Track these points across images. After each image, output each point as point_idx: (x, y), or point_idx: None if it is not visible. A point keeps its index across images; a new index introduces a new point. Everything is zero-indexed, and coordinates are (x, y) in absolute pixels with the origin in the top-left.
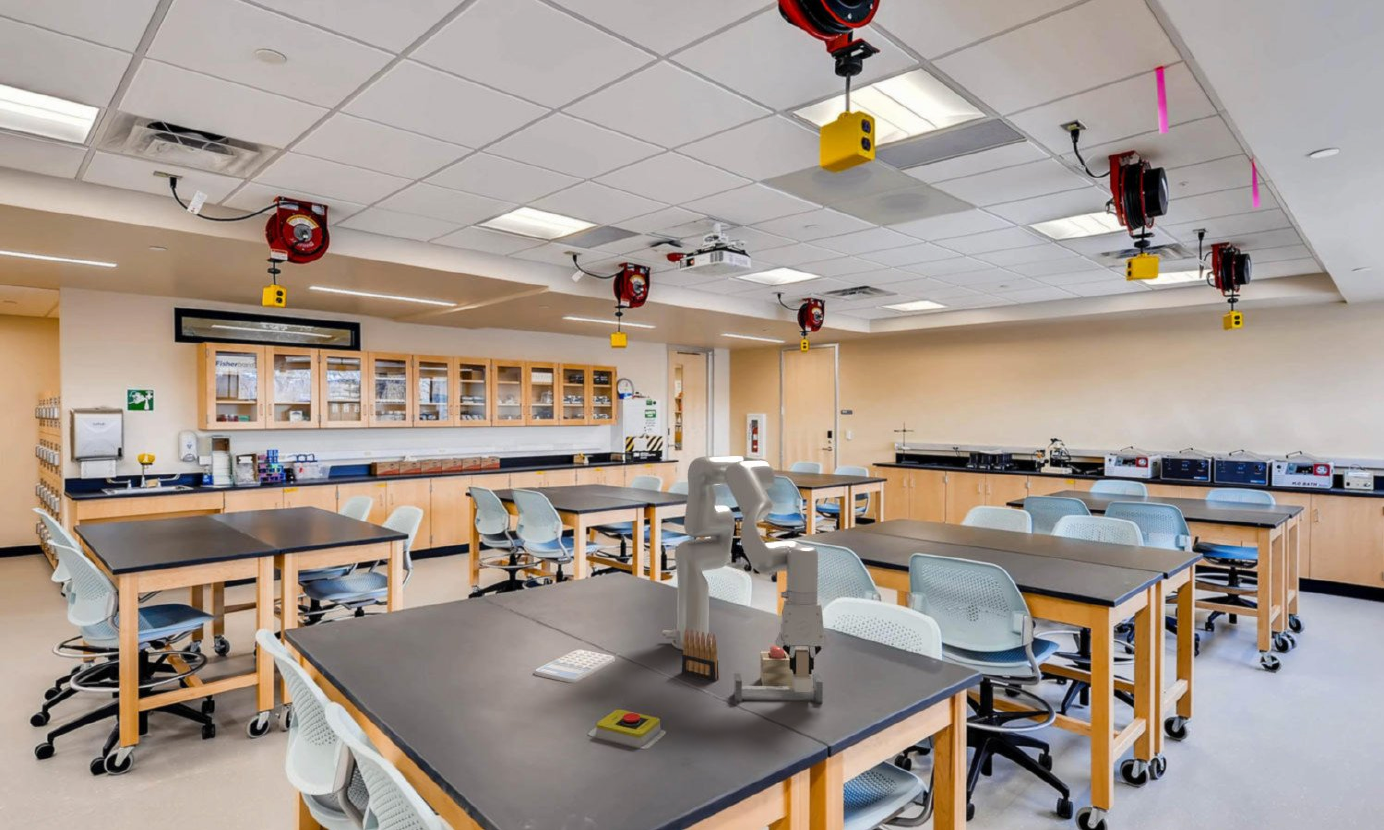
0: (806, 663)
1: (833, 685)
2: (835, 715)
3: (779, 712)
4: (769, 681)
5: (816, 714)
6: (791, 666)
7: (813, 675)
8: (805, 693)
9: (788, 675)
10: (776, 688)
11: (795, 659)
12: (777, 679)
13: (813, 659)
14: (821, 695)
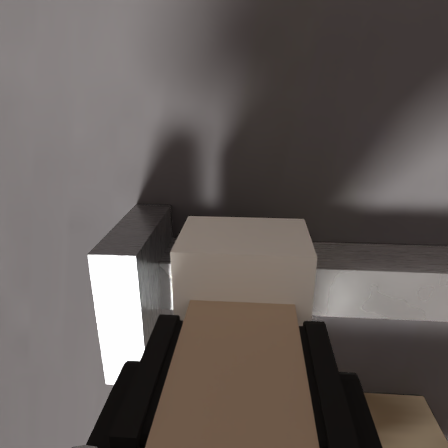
0: (189, 388)
1: (66, 397)
2: (75, 15)
3: (431, 52)
4: (396, 417)
5: (192, 27)
6: (348, 388)
7: None
8: None
9: None
10: (413, 286)
11: (330, 434)
12: None
13: (94, 439)
14: (129, 217)
